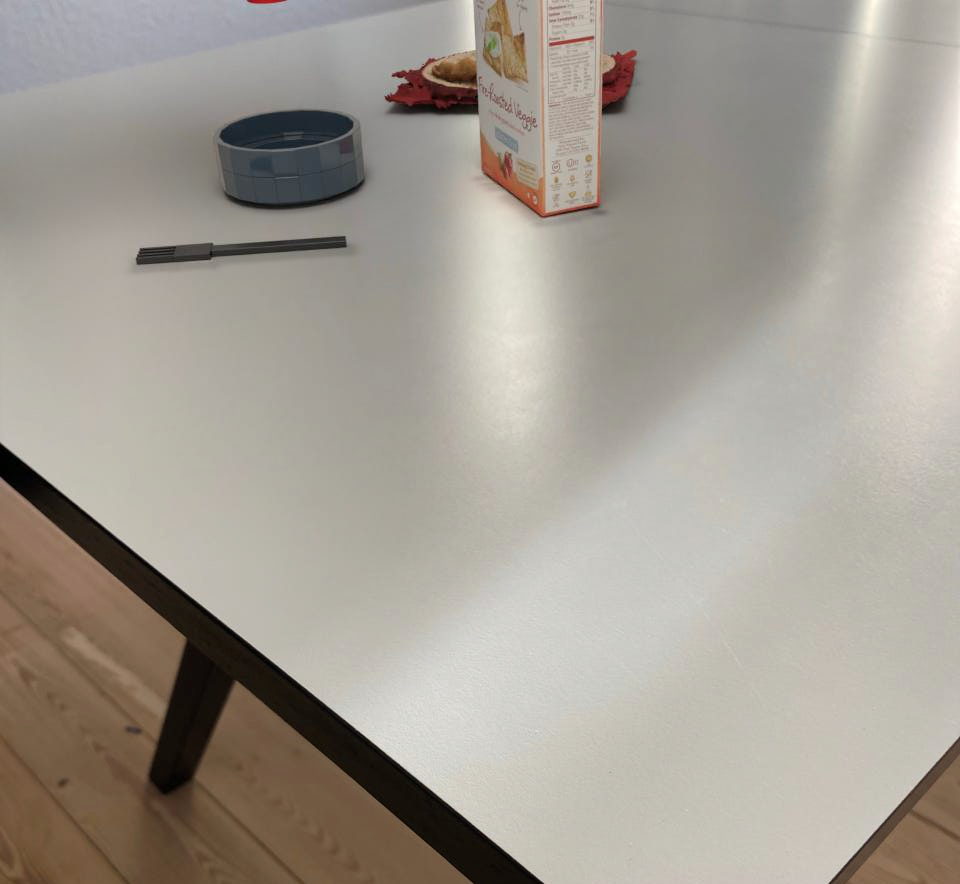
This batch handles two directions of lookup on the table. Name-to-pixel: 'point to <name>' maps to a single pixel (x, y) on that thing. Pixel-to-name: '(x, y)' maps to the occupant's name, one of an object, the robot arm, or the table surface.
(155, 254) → the fork
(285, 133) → the bowl
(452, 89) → the plate with food
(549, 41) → the cracker box
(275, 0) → the red rounded piece
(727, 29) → the table surface
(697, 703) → the table surface
